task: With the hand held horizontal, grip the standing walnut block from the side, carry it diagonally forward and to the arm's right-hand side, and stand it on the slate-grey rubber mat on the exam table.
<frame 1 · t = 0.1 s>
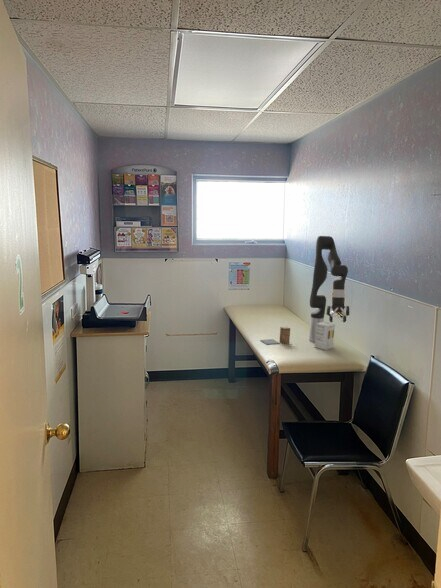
hand: (337, 322, 277), 22 cm above the table, tool pointing down, fingers open, 8 cm apart
walnut block: (284, 342, 306), on the table
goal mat: (269, 342, 306), on the table
supplement box: (323, 347, 299), on the table
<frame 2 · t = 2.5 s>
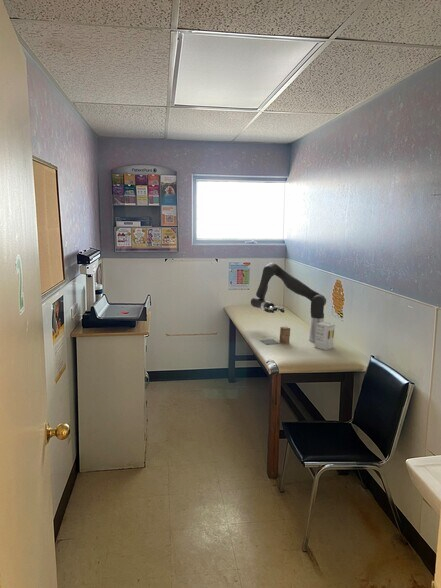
hand: (278, 311, 312), 20 cm above the table, tool horizontal, fingers open, 8 cm apart
nothing on the table moved.
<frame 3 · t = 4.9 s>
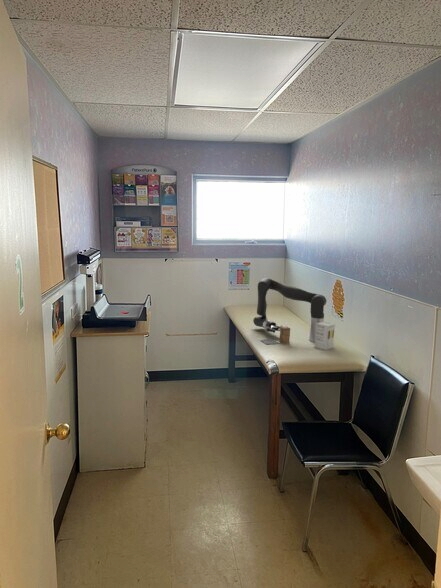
hand: (280, 331, 312), 6 cm above the table, tool horizontal, fingers open, 8 cm apart
nothing on the table moved.
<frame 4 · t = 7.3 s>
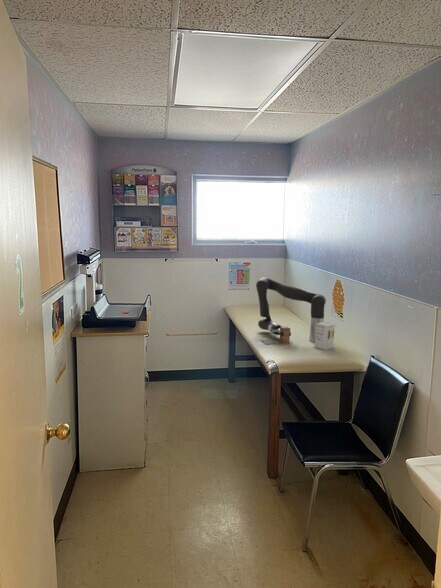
hand: (286, 334, 303), 7 cm above the table, tool horizontal, fingers closed on walnut block, 5 cm apart
walnut block: (284, 342, 306), on the table, touching gripper
everything else where it was.
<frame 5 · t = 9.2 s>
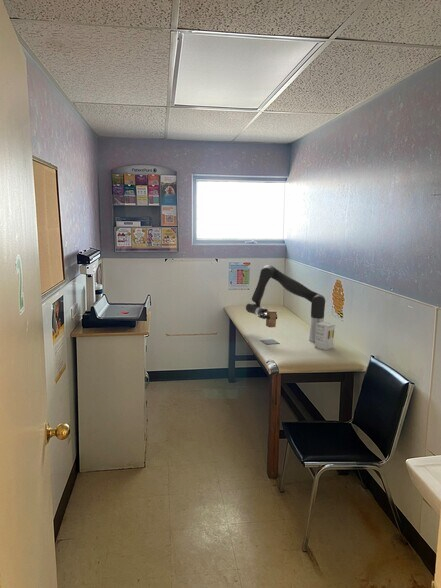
hand: (273, 318, 301), 18 cm above the table, tool horizontal, fingers closed on walnut block, 5 cm apart
walnut block: (270, 326, 304), point 11 cm above the table, touching gripper
everything else where it was.
when the fingers open (9 cm above the table, at t = 11.4 s): walnut block drops 1 cm, resting on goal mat.
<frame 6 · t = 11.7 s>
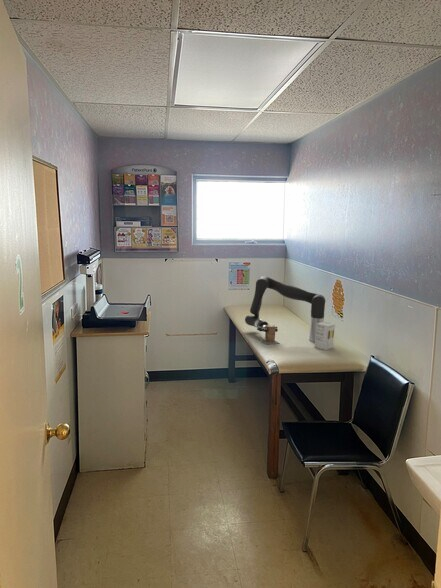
hand: (271, 330, 303), 9 cm above the table, tool horizontal, fingers open, 7 cm apart
walnut block: (269, 341, 306), point 1 cm above the table, touching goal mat
everything else where it was.
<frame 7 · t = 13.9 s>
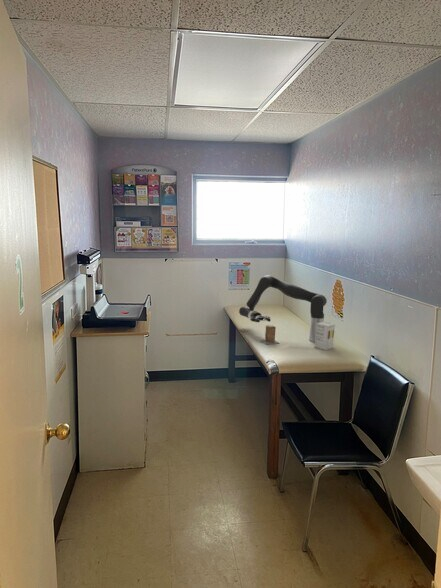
hand: (264, 320, 313), 13 cm above the table, tool horizontal, fingers open, 8 cm apart
nothing on the table moved.
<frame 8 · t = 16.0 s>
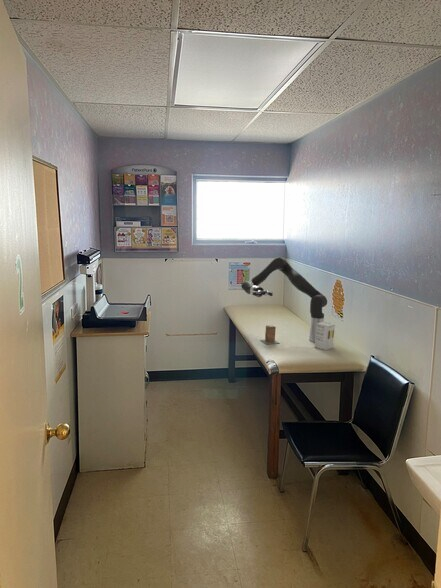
hand: (266, 294, 310), 32 cm above the table, tool horizontal, fingers open, 8 cm apart
nothing on the table moved.
at the end: walnut block inside the target area on the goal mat (0.1 cm from its centre), point 0.6 cm above the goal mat's base; walnut block tilted 0°; the gripper is holding nothing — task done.
